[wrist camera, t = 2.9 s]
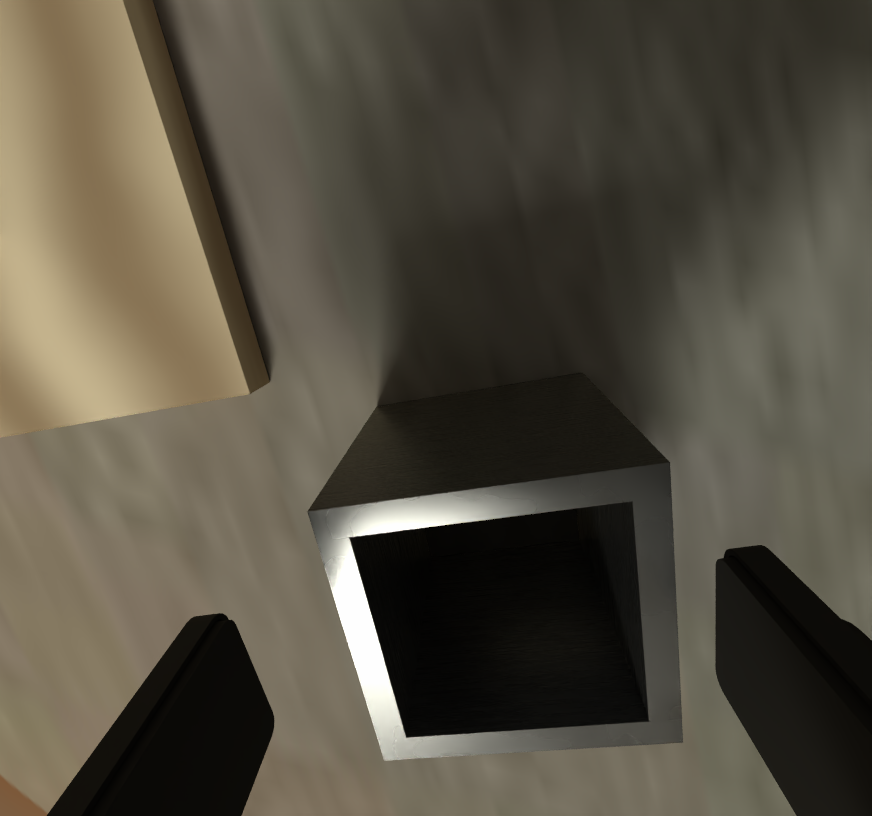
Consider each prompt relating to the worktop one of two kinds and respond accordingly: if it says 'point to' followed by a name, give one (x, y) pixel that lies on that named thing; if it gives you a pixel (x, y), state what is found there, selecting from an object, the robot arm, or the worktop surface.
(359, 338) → the worktop surface
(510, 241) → the worktop surface
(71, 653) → the worktop surface
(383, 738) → the square metal tube
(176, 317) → the post board
